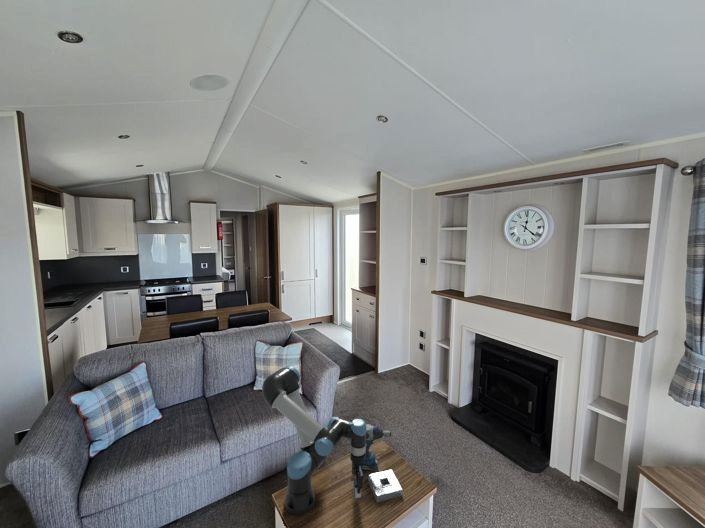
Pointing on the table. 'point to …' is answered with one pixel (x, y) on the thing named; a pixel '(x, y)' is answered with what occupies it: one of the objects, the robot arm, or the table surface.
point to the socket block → (387, 490)
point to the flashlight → (354, 483)
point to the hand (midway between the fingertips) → (356, 493)
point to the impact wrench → (371, 435)
